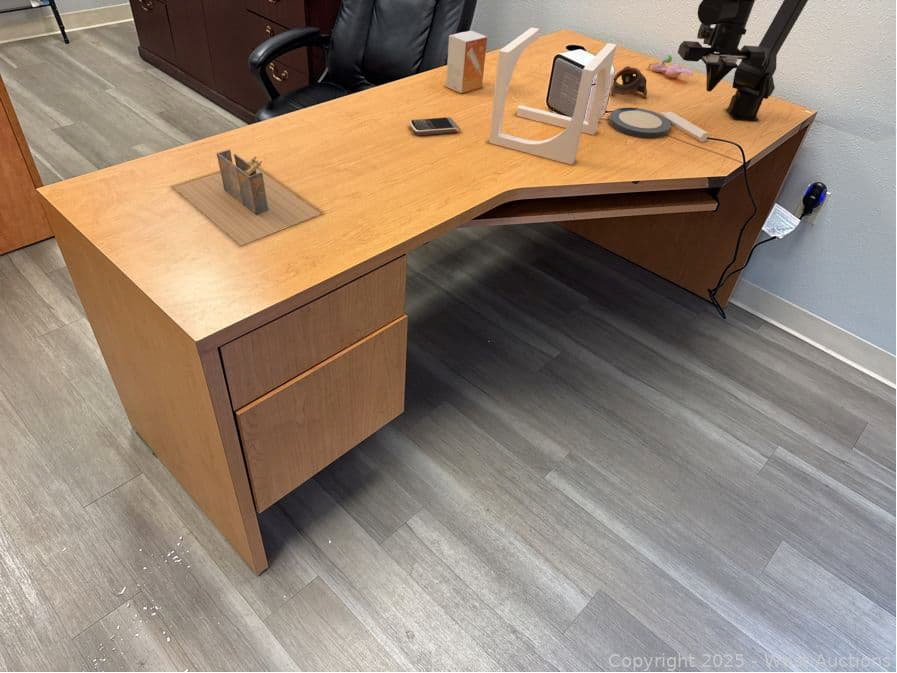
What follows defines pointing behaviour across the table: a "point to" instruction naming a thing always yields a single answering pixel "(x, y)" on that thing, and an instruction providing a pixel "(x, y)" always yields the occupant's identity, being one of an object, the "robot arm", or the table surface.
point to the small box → (466, 61)
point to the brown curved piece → (629, 82)
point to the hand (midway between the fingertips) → (708, 90)
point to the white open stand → (568, 139)
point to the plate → (639, 122)
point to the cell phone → (434, 126)
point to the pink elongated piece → (670, 68)
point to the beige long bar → (686, 126)
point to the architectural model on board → (245, 200)
